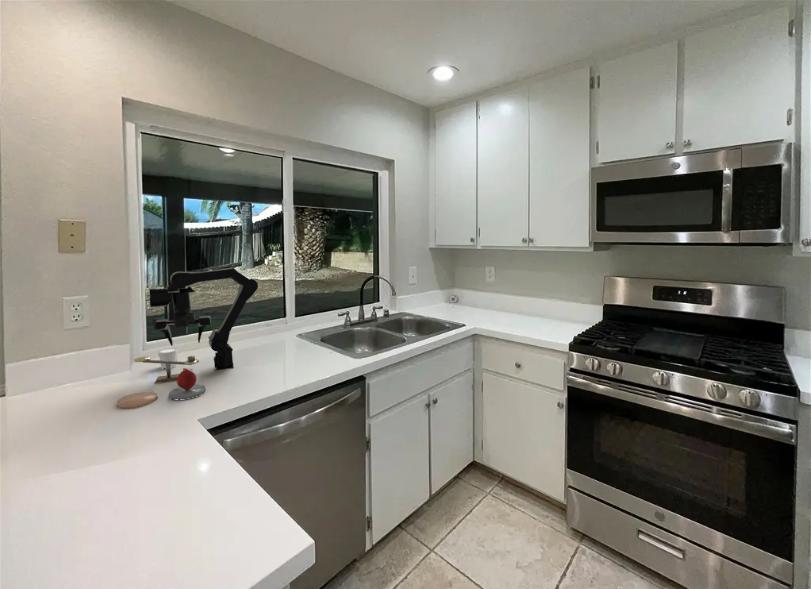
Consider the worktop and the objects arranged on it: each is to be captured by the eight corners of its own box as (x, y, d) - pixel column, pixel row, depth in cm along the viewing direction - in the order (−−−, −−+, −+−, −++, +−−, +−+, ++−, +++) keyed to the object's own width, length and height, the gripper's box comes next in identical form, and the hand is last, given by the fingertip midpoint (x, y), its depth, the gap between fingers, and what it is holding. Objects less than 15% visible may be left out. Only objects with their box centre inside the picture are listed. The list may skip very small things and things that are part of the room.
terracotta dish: (159, 392, 136) (159, 389, 135) (154, 404, 126) (154, 401, 125) (121, 398, 131) (121, 394, 131) (112, 411, 121) (112, 407, 121)
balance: (200, 373, 154) (198, 350, 153) (199, 377, 150) (197, 353, 148) (138, 381, 146) (135, 357, 145) (135, 386, 141) (132, 361, 140)
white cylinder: (170, 370, 159) (168, 353, 158) (155, 369, 160) (153, 352, 159) (182, 364, 166) (181, 348, 164) (168, 363, 167) (167, 347, 166)
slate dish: (206, 385, 142) (206, 382, 141) (205, 396, 132) (204, 393, 131) (171, 390, 137) (171, 387, 137) (167, 402, 127) (166, 399, 127)
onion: (192, 385, 138) (189, 364, 137) (200, 389, 135) (198, 366, 134) (174, 391, 133) (172, 368, 132) (183, 394, 130) (180, 371, 129)
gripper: (149, 310, 139) (154, 352, 141) (208, 305, 147) (211, 346, 149) (154, 305, 149) (158, 345, 152) (209, 301, 157) (212, 339, 159)
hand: (185, 344), depth 153 cm, fingers open, 9 cm apart
